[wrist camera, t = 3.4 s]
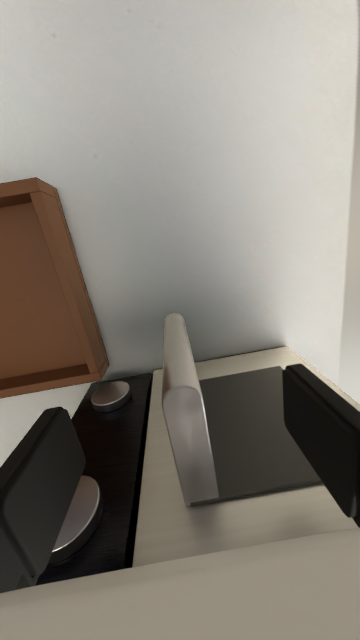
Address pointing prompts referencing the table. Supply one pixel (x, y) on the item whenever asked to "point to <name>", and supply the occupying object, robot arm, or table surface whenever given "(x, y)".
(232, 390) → the microwave door
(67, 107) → the table surface
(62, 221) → the tray
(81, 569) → the microwave
